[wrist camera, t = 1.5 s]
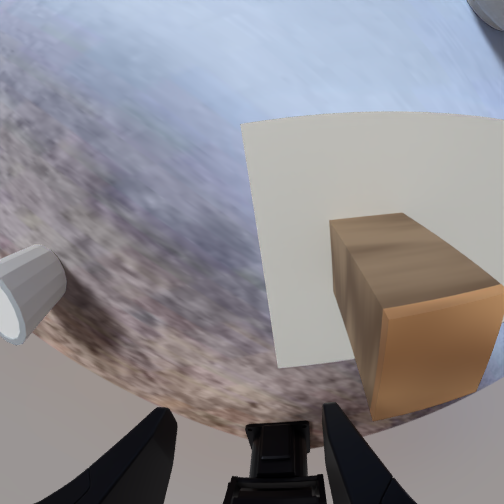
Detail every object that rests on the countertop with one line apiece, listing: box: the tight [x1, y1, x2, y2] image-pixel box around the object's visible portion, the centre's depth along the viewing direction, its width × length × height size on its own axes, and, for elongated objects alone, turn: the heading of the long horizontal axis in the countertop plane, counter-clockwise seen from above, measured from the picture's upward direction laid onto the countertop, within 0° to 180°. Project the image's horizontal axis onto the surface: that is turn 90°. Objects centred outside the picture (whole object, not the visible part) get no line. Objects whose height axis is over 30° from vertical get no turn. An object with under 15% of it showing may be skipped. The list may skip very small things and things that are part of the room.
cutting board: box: [240, 112, 504, 368], centre depth 18 cm, size 18×24×1 cm
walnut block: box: [329, 213, 504, 421], centre depth 13 cm, size 5×5×11 cm
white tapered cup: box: [0, 244, 67, 345], centre depth 19 cm, size 7×7×7 cm
